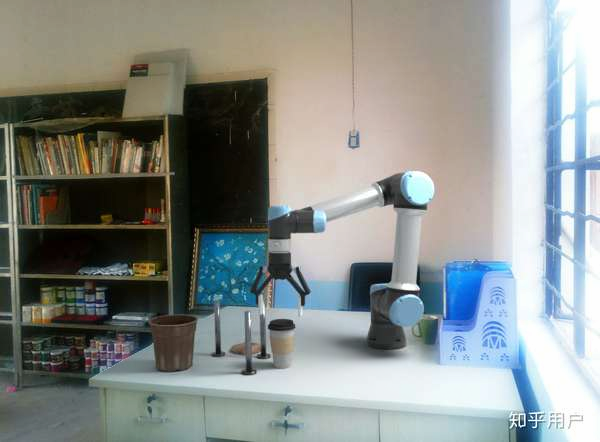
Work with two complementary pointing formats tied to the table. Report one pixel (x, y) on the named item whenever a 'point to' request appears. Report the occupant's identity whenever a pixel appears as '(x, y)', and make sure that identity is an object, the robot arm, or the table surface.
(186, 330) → the plant pot
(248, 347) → the pole outer
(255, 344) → the coaster
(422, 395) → the table surface
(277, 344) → the coffee cup
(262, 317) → the pole corner
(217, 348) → the pole far
